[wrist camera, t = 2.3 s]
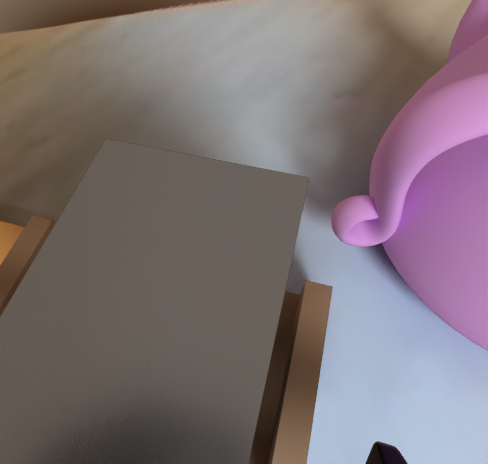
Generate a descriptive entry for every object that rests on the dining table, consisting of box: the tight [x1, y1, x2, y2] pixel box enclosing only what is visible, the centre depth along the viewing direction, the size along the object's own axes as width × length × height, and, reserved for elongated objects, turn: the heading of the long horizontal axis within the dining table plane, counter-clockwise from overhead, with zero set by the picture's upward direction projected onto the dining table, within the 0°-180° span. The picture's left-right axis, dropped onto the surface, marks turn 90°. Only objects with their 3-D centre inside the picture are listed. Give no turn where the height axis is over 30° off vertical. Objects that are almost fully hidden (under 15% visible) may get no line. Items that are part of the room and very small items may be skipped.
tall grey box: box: [0, 139, 309, 464], centre depth 10 cm, size 6×4×12 cm, turn 165°
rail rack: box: [0, 215, 332, 464], centre depth 15 cm, size 12×23×4 cm, turn 75°
